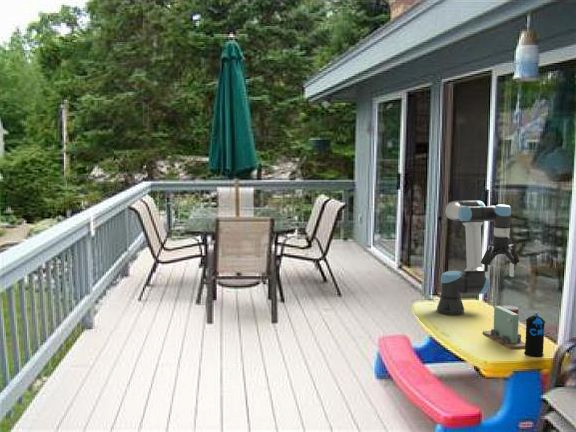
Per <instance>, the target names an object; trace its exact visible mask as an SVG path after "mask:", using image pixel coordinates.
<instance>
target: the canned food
mask: <svg viewBox="0 0 576 432" xmlns="http://www.w3.org/2000/svg"><path fill="white" fill-rule="evenodd" d="M501 307H503V308H505V309H508V310H510V311H512V312H514V313H516V314H518V315H519V307H518V306H515V305H511V304H510V305H501Z"/></svg>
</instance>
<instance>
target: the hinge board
mask: <svg viewBox="0 0 576 432" xmlns="http://www.w3.org/2000/svg"><path fill="white" fill-rule="evenodd" d="M482 334H483V335H485V336H486V337H488V338H489V339H491V340H493V341H494V342H497V343H498V344H500V345H502V346H503V347H505V348H506V349H509V350H518V349H525V342H524V341H522V334H520V333H518V343H513V344H512V343H510V342H509V338H508V337H506V336H504V335H503V336H502V338H501V337H499V336H497V331H495V330H494V328H491V330H483V331H482Z"/></svg>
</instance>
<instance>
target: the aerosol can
mask: <svg viewBox="0 0 576 432" xmlns="http://www.w3.org/2000/svg"><path fill="white" fill-rule="evenodd" d="M525 321H526V322H525V324H526V325H525V342H524V343H525V348H524V351H523V352H524V354H525V355H526V356H528V357H532V358H541V357H543V356H545V355H544V341H545V324H546V321H545V320H544V319H543V317H541V316H539V312H538V311H533V315H531V316H527V318H526V319H525Z"/></svg>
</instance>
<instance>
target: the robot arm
mask: <svg viewBox="0 0 576 432" xmlns="http://www.w3.org/2000/svg"><path fill="white" fill-rule="evenodd" d="M443 213H444V216H445V217H446V218H447V219H448V220H452V221H461V223H462V225H463V226H464V227H465V228H464V229H465V250H466V251H465V252H466V253H465V254H466V255H465V256H466V268H465V269H464V271H463V272H464V273H463V272H462V271H461V270H449V271H444V272H443V273H442V274H441V277H440V298H439V301H438V304H437V306H436V312H437V311H438V312H437V313H439V314H442V315H445V316H446V315H447V316H461V315H464V313H465V307H464V303H463V299H462V295H484V294H487V292H488V290H489V287H490V282H491V281H490V280H491V279H490V276H491V275H490V273H491V272H490V270H491V266H490V264H491V262H492V261H493V260H494V259H495V258H496V256H497V255H505V256H506V257H507V259H508V261H510V262H509V271H508V273H509V274H508V276H510V277H511V278H512V277H513V278H514V274H515V270H516V265H517V264H518V263H520V259H519V257H518V254H517V252H516V249H515V245H514V244H512V243H511V244H510V233H511V216H512V208H511V206H510V205H508V204H496V205H489V206H486V205H485V203H484V202H483V201H481V200H453V201H450V202H448V203H447V204H446V205H445V206H444V208H443ZM484 222H493V224H494V225H493V242H492V243H493V244H492V245H487V247H486V251H485V253H484V254H483V250H482V249H483V247H482V245H483V243H482V225H483V224H484ZM508 250H509V251H508ZM510 253H511V254H510ZM483 265H484V267H483Z"/></svg>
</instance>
